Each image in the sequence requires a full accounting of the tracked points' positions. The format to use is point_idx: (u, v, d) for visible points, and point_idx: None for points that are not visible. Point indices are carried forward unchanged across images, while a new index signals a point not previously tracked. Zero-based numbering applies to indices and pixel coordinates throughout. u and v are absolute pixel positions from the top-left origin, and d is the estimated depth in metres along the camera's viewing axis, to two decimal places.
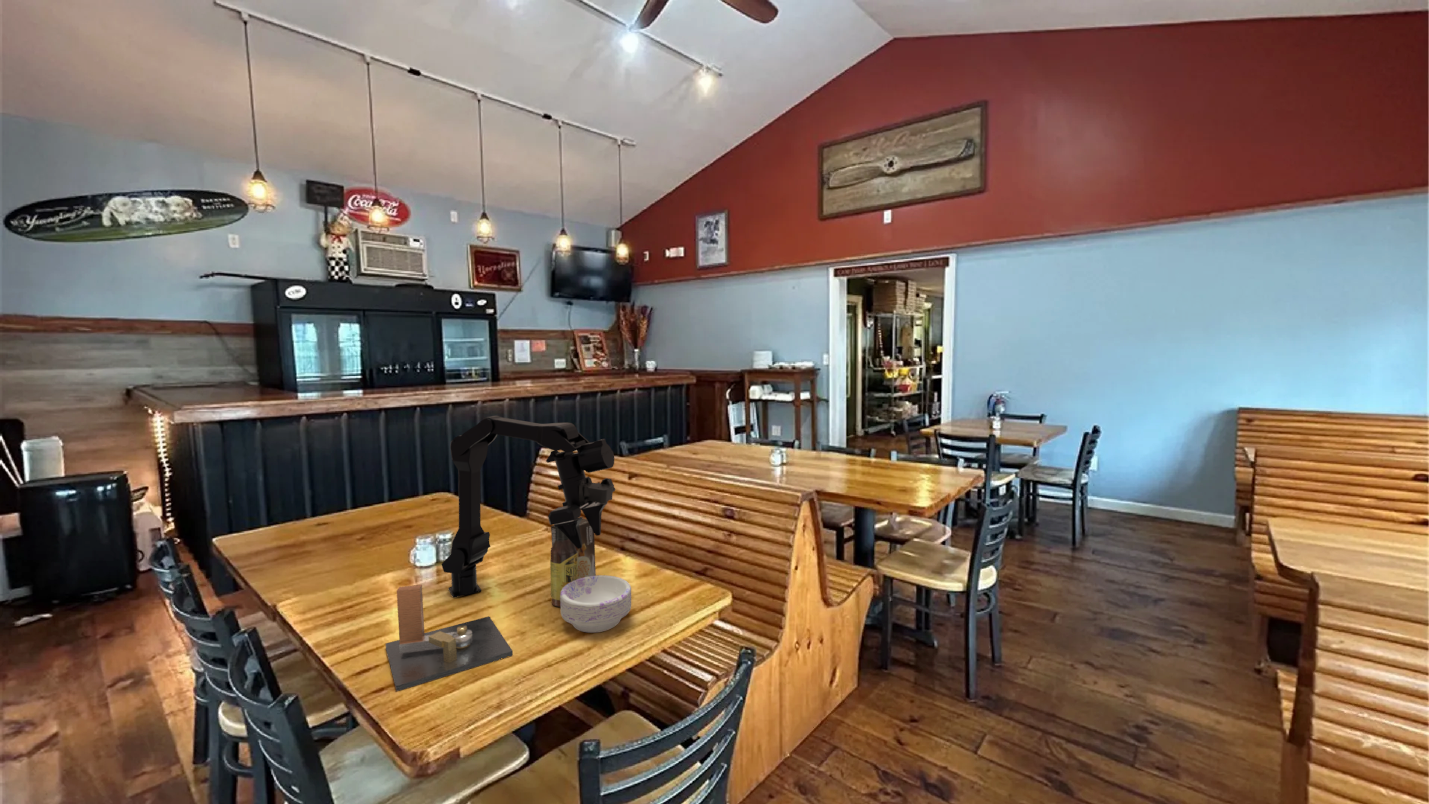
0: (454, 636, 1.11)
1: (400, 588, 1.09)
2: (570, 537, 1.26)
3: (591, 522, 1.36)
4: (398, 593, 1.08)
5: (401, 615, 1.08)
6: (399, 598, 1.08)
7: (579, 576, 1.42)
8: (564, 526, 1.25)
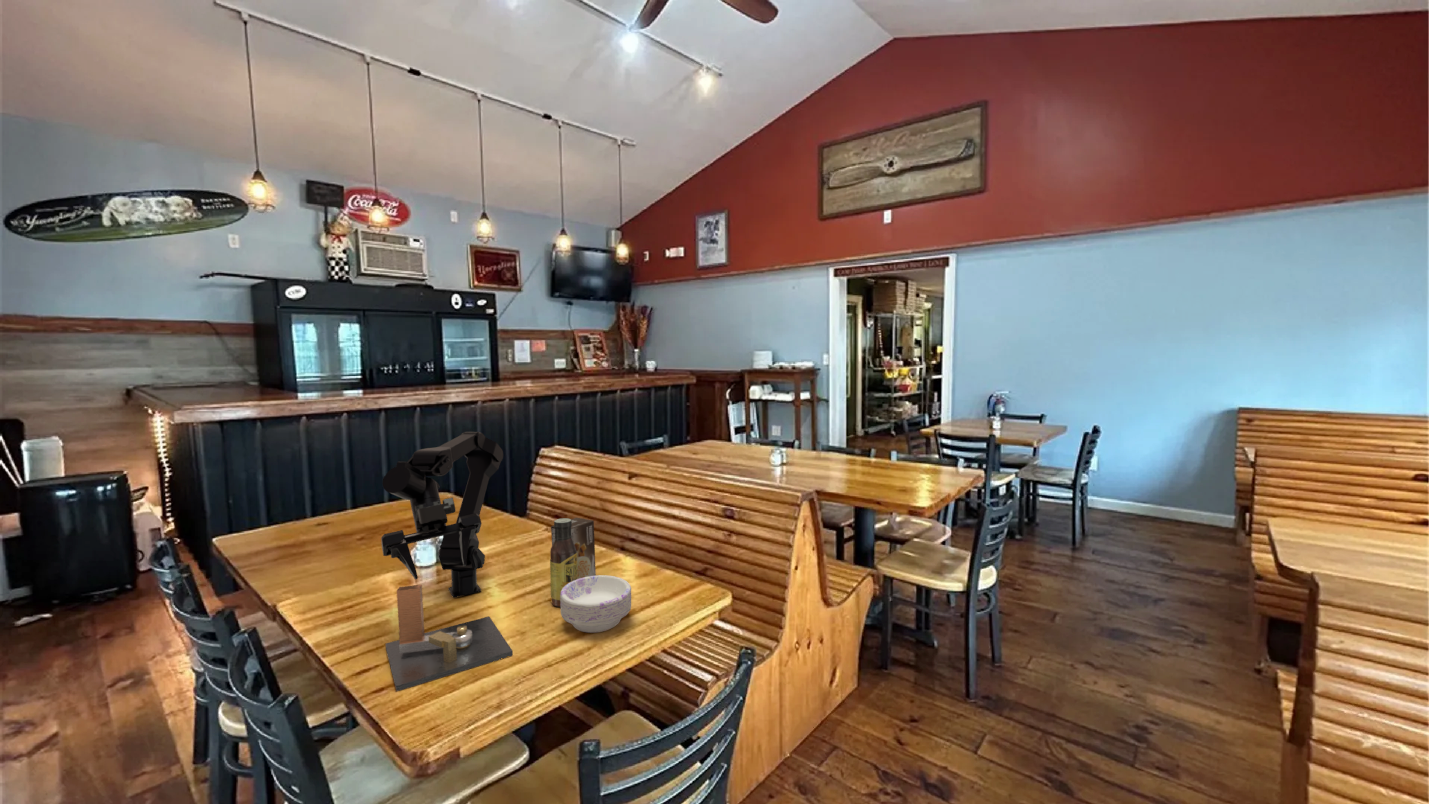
0: (454, 636, 1.11)
1: (400, 588, 1.09)
2: (407, 567, 1.15)
3: (461, 552, 1.21)
4: (398, 593, 1.08)
5: (401, 615, 1.08)
6: (399, 598, 1.08)
7: (579, 576, 1.42)
8: (401, 556, 1.16)
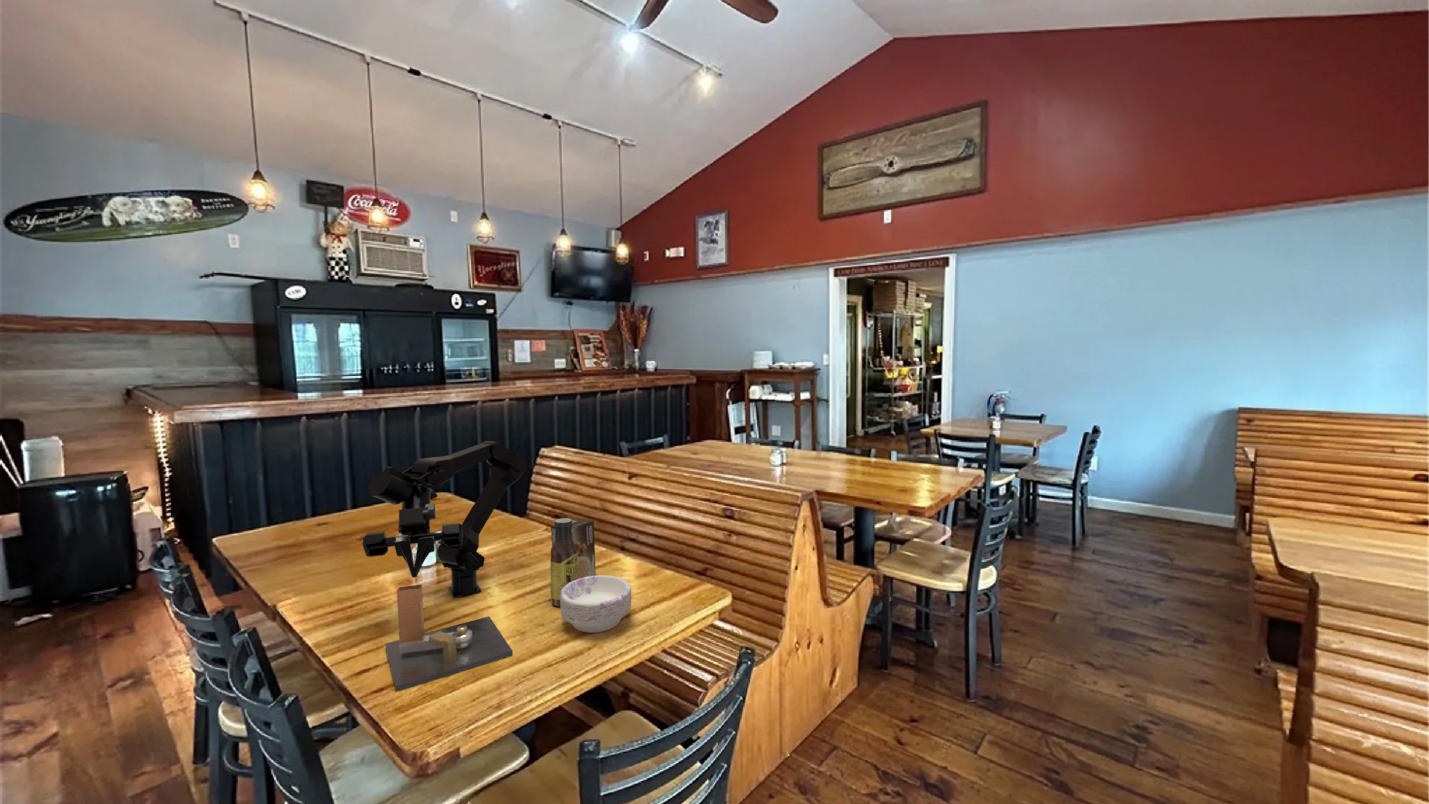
0: (454, 636, 1.11)
1: (400, 588, 1.09)
2: (408, 565, 1.19)
3: None
4: (398, 593, 1.08)
5: (401, 615, 1.08)
6: (399, 598, 1.08)
7: (579, 576, 1.42)
8: None
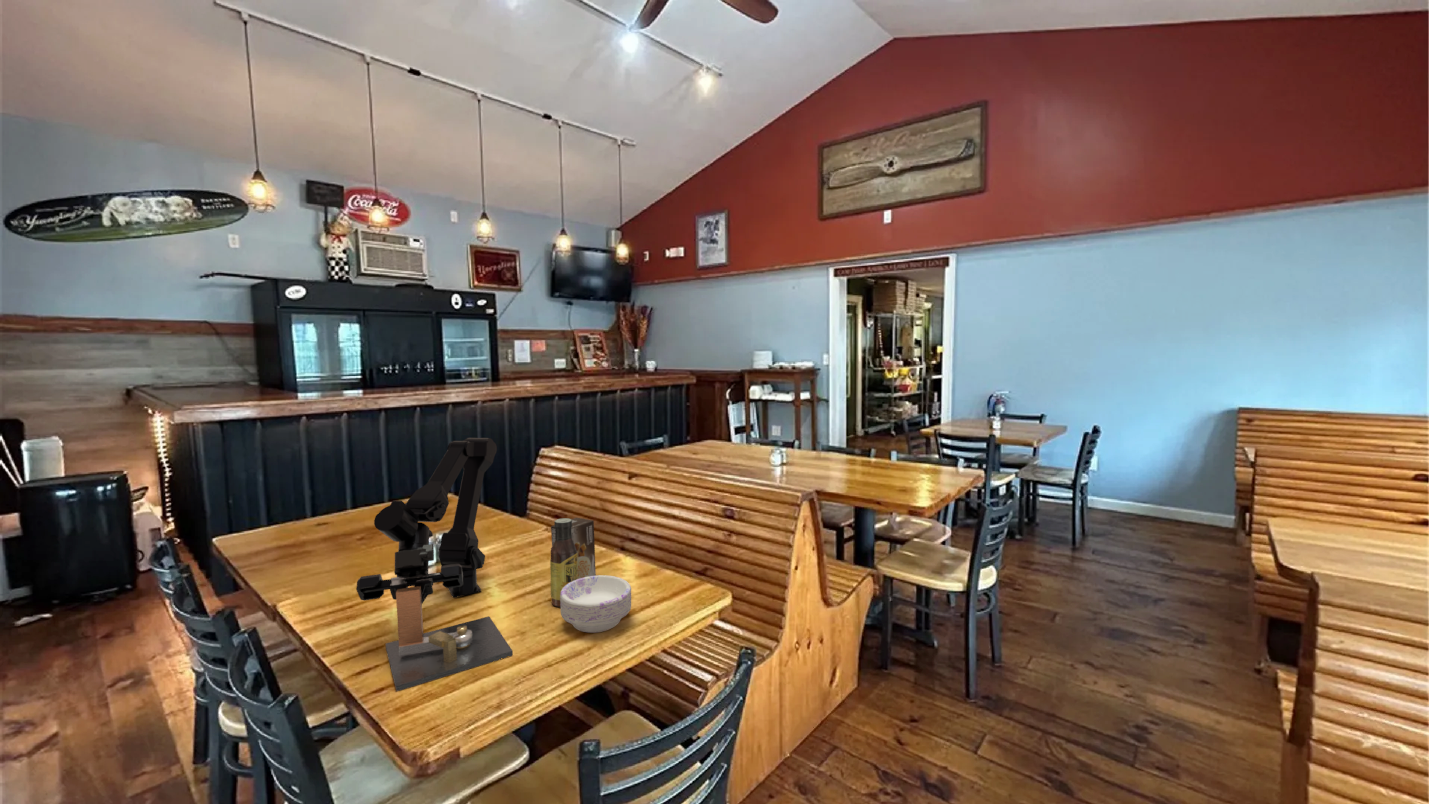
0: (454, 636, 1.11)
1: (399, 591, 1.08)
2: None
3: None
4: (397, 595, 1.07)
5: (400, 617, 1.07)
6: (398, 600, 1.07)
7: (579, 576, 1.42)
8: None
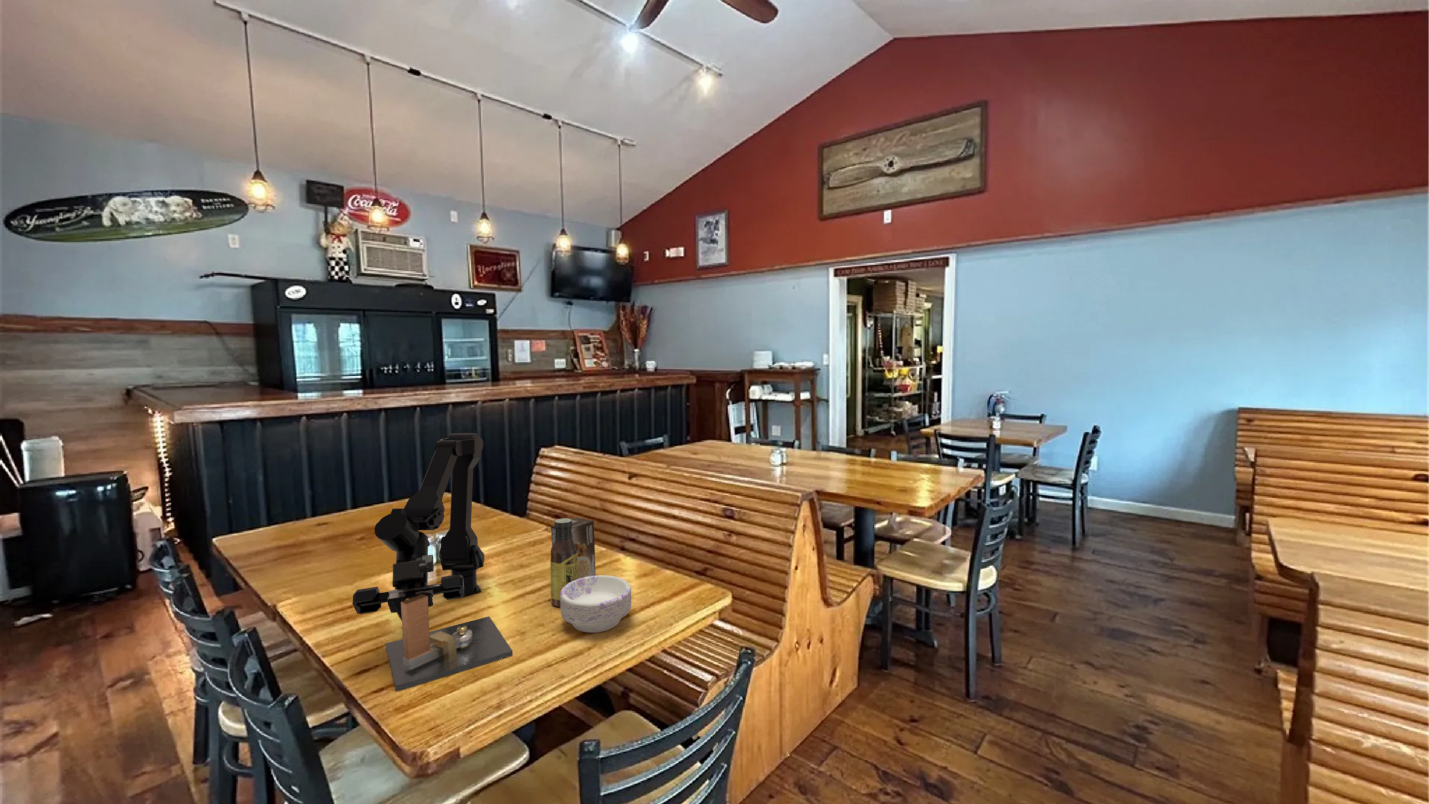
0: (458, 637, 1.11)
1: (406, 602, 1.03)
2: None
3: None
4: (407, 606, 1.02)
5: (410, 629, 1.03)
6: (408, 611, 1.02)
7: (579, 576, 1.42)
8: None
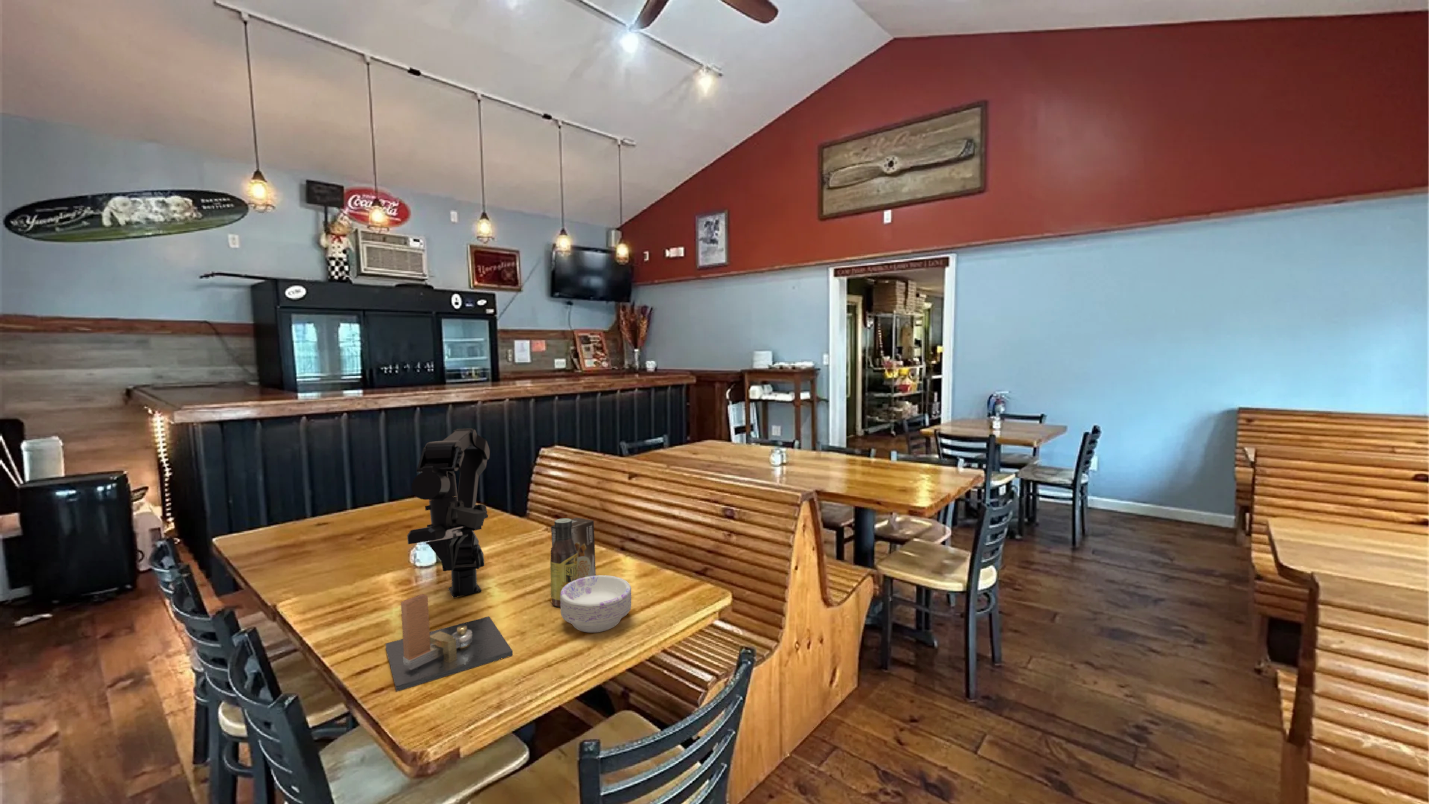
0: (458, 637, 1.11)
1: (406, 602, 1.03)
2: (441, 557, 1.22)
3: None
4: (407, 606, 1.02)
5: (410, 629, 1.03)
6: (408, 611, 1.02)
7: (579, 576, 1.42)
8: (437, 545, 1.21)
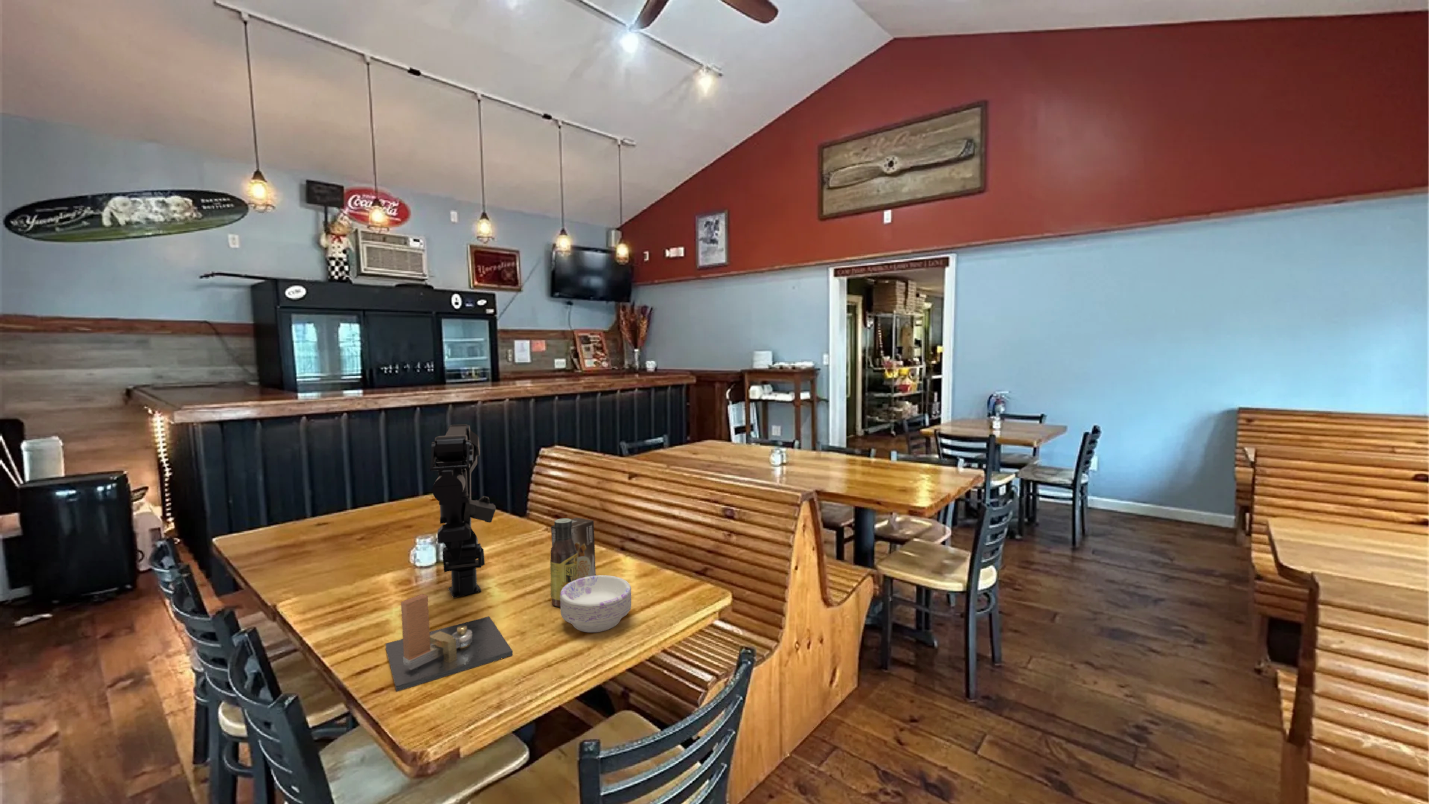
0: (458, 637, 1.11)
1: (406, 602, 1.03)
2: (451, 549, 1.24)
3: None
4: (407, 606, 1.02)
5: (410, 629, 1.03)
6: (408, 611, 1.02)
7: (579, 576, 1.42)
8: None
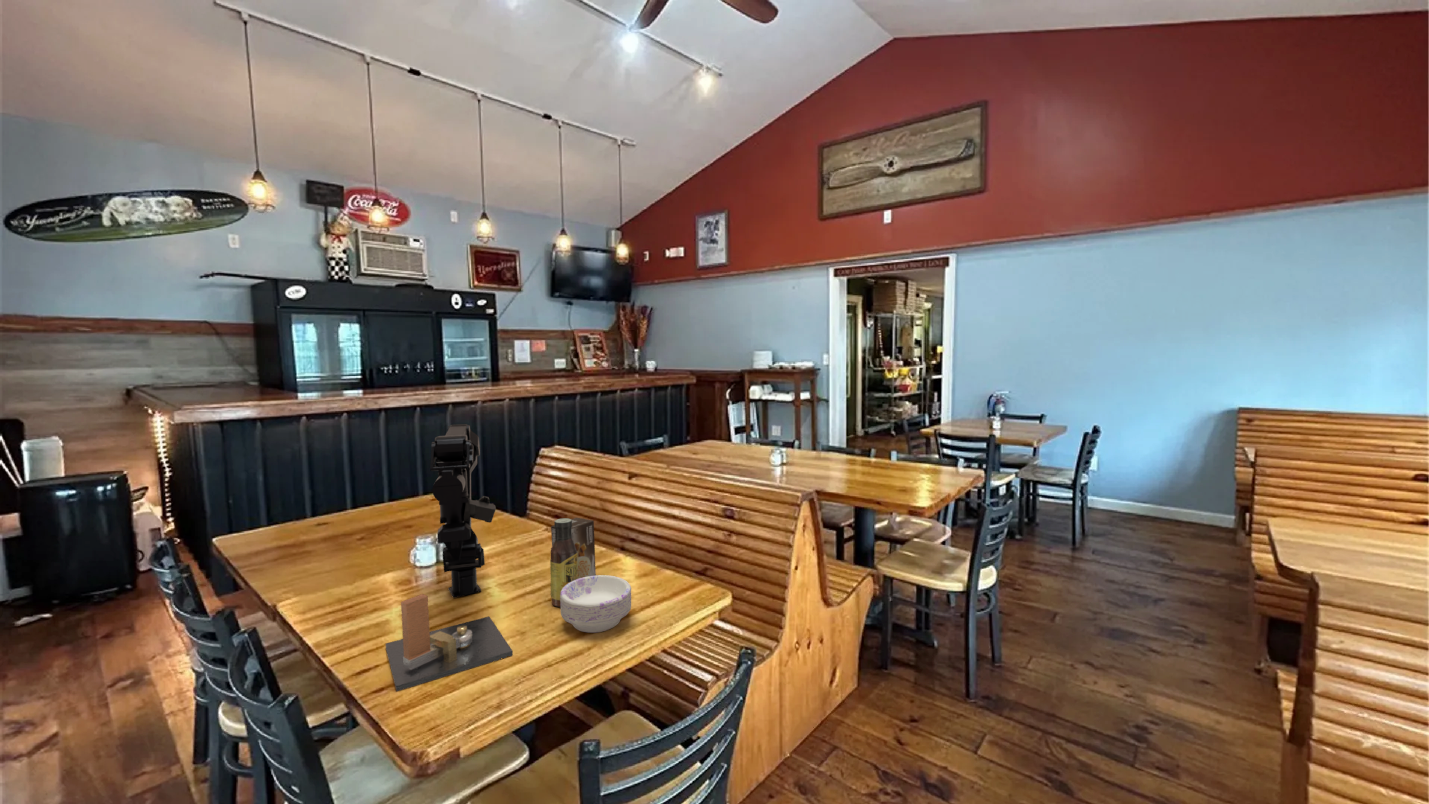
0: (458, 637, 1.11)
1: (406, 602, 1.03)
2: (451, 549, 1.24)
3: None
4: (407, 606, 1.02)
5: (410, 629, 1.03)
6: (408, 611, 1.02)
7: (579, 576, 1.42)
8: None
